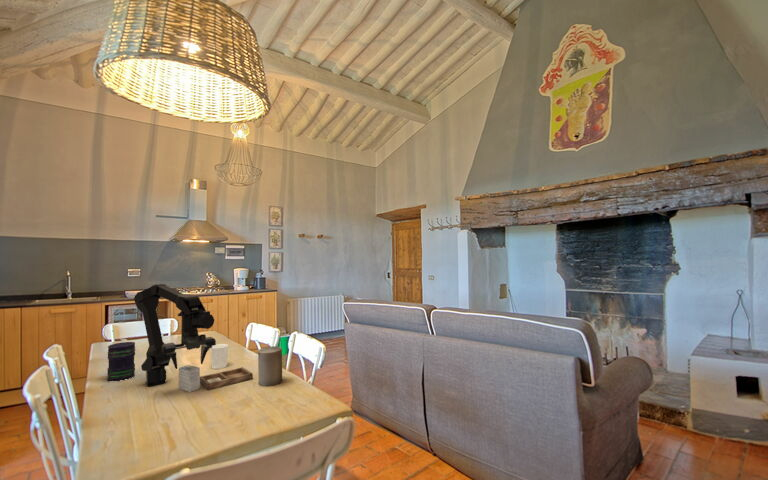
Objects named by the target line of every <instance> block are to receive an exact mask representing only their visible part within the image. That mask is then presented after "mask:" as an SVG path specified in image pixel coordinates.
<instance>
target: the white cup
mask: <svg viewBox="0 0 768 480" xmlns="http://www.w3.org/2000/svg"><path fill="white" fill-rule="evenodd" d="M209 350H210V362H211V369H213V370H220V369H224V368H226V367H228V358H229V344H228V343H218V344H216V345H214V346H212V348H210V349H209Z"/></svg>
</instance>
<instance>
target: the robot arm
mask: <svg viewBox="0 0 768 480" xmlns="http://www.w3.org/2000/svg"><path fill="white" fill-rule="evenodd" d="M161 298H164V299H165V300H168V301H169V302H171V303H173V304H175V307H176V308H177V309H178V310H179V311H180V312H179V313H178V314H177V317H181V330H180V334H181V336H180V337H181V338H180V343H178V344H177V343H176V344H175V342H168V343H165V342H164V341H163V340H164V339H163V337H162V331H161V327H160V321H159V317H158V312H157V309H158V306H159V304H160V299H161ZM133 300H134V303H135V307H136V309H138V310H139V311H140V312H141V313H142V316H143V318H142V319H143V322H144V327H145V331H146V335H147V342H148V349H147V351H146V354H145V356H146V359H145V360H144V361H143V363H142V364H141V365H140V366H141V370H142V371H143V372H146V373H145V376H146V378H145V382H144V383H145V385H146V386H147V387H151V386H156V385H162V384H165V383H167V382H166V380H167V370H166V367H167V366H169V365H170V362H171V361H172V364H173V367H174V368H175V370H177V369H178V360H177V352H176V350H181V349H186V350H188V351H190V350H194V349H200V364H201V365H203V364H204V361H205V358H206V356H207V353H208V351H209V350H210V348H212V346H214V345H217V342H216V341H217V340H216V339H215V337H213V336H206V334H205V333H204V334H200V335H199V330H198V329H202V330H203V329H205V330H208V329H210V328H212V327H213V326H214V323H215V318H214V316H213V315H212V314H211V311H210V310H209V311H208V310H206V308H205V306H204V305H203V303H202V301H201V299H200V297H199V296H198V295H194V294H188V293H187V294H186V293H182V292H180V291H179V290H176V289H174V288H172V287H170V286H167V285H166V284H165V283H158V284H157V283H156V284H153V285H151V286H150V287H148V288H145V289H143V290H141V291H138V292H136V293H135V295H134V297H133Z"/></svg>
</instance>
